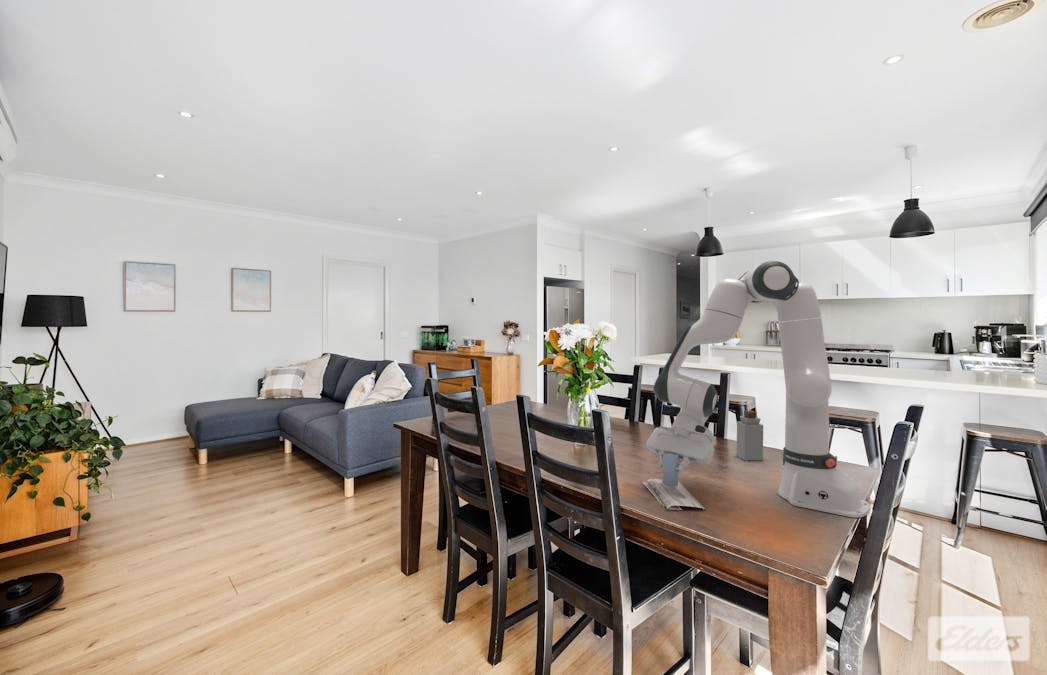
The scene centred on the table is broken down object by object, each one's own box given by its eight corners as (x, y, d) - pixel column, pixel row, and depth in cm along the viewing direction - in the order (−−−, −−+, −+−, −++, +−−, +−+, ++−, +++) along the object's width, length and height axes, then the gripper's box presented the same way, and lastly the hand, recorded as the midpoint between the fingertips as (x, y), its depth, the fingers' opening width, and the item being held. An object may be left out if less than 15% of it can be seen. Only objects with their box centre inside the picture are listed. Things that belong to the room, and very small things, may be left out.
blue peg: (680, 484, 138) (681, 454, 138) (673, 487, 135) (673, 457, 135) (667, 480, 141) (667, 451, 141) (659, 483, 138) (660, 454, 138)
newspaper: (641, 484, 149) (642, 477, 149) (678, 488, 149) (679, 481, 149) (662, 513, 127) (662, 504, 127) (706, 518, 127) (707, 509, 127)
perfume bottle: (762, 460, 172) (763, 413, 171) (744, 460, 172) (745, 413, 171) (754, 455, 179) (754, 409, 178) (736, 455, 179) (737, 409, 178)
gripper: (653, 419, 150) (635, 455, 144) (714, 430, 135) (698, 470, 129) (660, 430, 153) (643, 466, 147) (721, 442, 138) (705, 482, 132)
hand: (669, 468), depth 138 cm, fingers closed on blue peg, 4 cm apart
